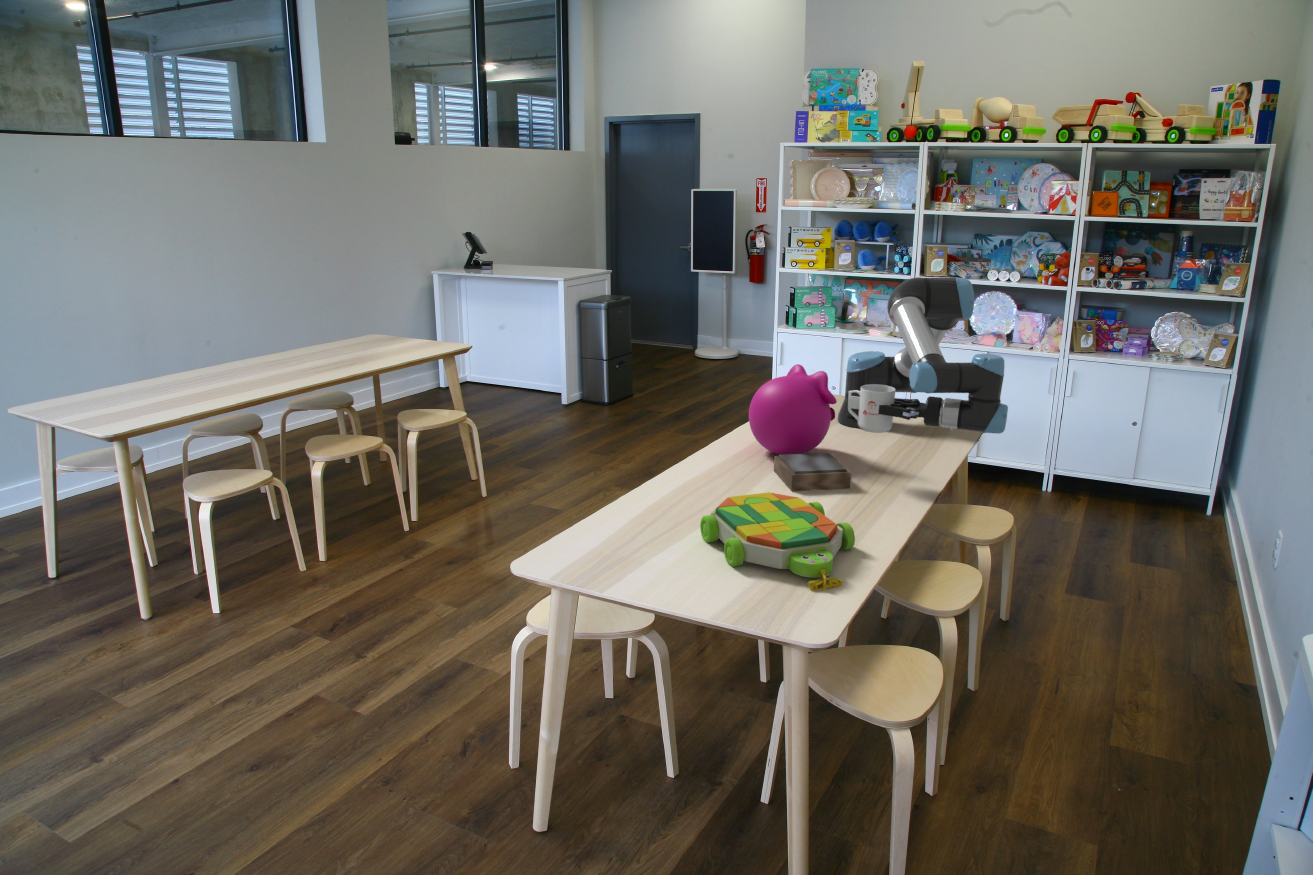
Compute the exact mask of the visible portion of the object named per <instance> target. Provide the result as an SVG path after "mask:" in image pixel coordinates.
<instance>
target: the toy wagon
mask: <svg viewBox="0 0 1313 875" xmlns="http://www.w3.org/2000/svg"><path fill="white" fill-rule="evenodd" d="M825 514H826V513H825V509H824V507H823V505H822V503H820V502H818V501H812V502H811V501H810V502H806V501H805V500H803V498H801V497H799V496H798V497H797V496H793V495H786V494H779V493H775V492H761V493H751V494H743V495H735V496H728V497H727V498H725V499H724V500H723V501H722V502H721V503H720V504H719V505H718V506H716V508H714V509H713V510H712V511H711V512H710V515H709V514H707V515H703V516H701V519H700V525H699V528H700V533H701V534H700V535H701V537H702V540H703V541H704V542H705V543H707V544H709V543H710V544H711V543H715V542H717V541H718V539H720V541H722V543H723V544H724V545H723V553H724V558H725V560H726V562H727V564H728V566H730V567H732V568H735V567H741V566H742V565H743V563H744V562H747V563H751V564H757V565H761V566H763V567H768V568H774V569H778V570H785V569H786V570H787V569H788V570H789V571H791V572H792V573H793V574H795V575H798V576H800V577H805V578H809V579H810V578H811V579H812V578H813V580H809V581H808V582H807V585H808V589H809V590H810V591H811V592H815V591H825V590H828V589H829V590H830V588H839V587H842V586H843V583H844V582H843V581H842V580H841V579H840V578H838V577H835V576H832V577H827V576H829V575H830V574H831V573H832V572H833V565H834V558H835V557H836V555H837V553H838V552H839V550H842V551H849V550H852V549H853V548H854V546H855V543H856V535H855V530H854V528H853V527H852V526H851V524H850V523H848V522H846V521H845V522H839V523H835V522H834V521H833V520H832V519H830V518H829V517H827V516H826V515H825ZM818 578H820V579H818ZM814 579H816V580H814Z"/></svg>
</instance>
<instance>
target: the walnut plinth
mask: <svg viewBox="0 0 1313 875" xmlns="http://www.w3.org/2000/svg"><path fill="white" fill-rule="evenodd" d="M773 472H774V473H775V475H777V477H778V478H779V479H780V480H781V481H782V482H783V484H784V485H785V486H786V487H787V488H788V489H789V490H790V492H801V491H805V492H806V491H818V490H820V491H821V490H823V491H824V490H839V489H840V490H842V489H843V490H845V489H846V490H847V489H851V481H852V472H851V471H850V470H849V469H848V468H847V467H846V466H844V465H843V463H841V462H840V461H839V460H838V459H837V458H836V457H835V456H833V455H832V454H831V453H829V452H818V453H817V452H816V453H815V452H812V453H804V454H786V455H780V454H778V455H774V459H773Z"/></svg>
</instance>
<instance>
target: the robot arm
mask: <svg viewBox="0 0 1313 875" xmlns="http://www.w3.org/2000/svg"><path fill="white" fill-rule="evenodd" d="M886 306H887V307H886V308H887V314H888V317H889V320H890V321H891V323H892V324H893V325H894V326H896V327H897V329H898V331H899V334H900V336H901V338H902V341H903V344H904V346H905V348H902V349H900V350H899V351H898V352H897V353H896V355H895V356H886V355H885V353H884V352H882V351H875V350H874V351H873V350H871V351H867V350H866V351H861V352H857V353H854V354H852V355H850V356H849V357H848V359H847V365H846V369H845V371H846V375H845V376H846V378H845V391H844V398H843V402H842V404H841V407H840V409H839V411H838V414H837V422H838V423H839V424H841V425H843V426H847V427H851V428H857V429H858V428H859V429H861V428H860V427H859V426H858V421H857V419H856V418H855V417H854V416H853V415H852V414H850V412H849V411H848V408H851V410H852V411H853V412H854V413H855V414H856V415H857V416H858V414H859V402H860V395H859V394H858V393H856V392H853V393H851V398H849V405H848V395H849V393H848V392H849V391H853V390H858V391H860V389H861V386H863V385H870V384H877V385H886V386H890V387H893V388H895V390H896V391H895V393H911V394H916V393H925V394H950V393H951V394H968V396H967V398H968V399H967V400H965V399H961V398H960V399H958V398H952V397H945V399H944V398H942V397H941V396H940V397H939V396H928V397H927V399H926V401H925V402H921V401H920V400H919V399H917V398H899V397H895V401H894V403H893V404H891V406H890V405H879V413H878V414H881V415H887V416H893V418H899V419H903V420H906V421H909V420H911V419H914V420H915V419H917V418H923V423H924V424H923V425H924V426H929V427H936V428H937V427H939V426H941V428H946V429H949V430H950V431H954V430H955V429H956V430H962V431H969V432H978V433H983V434H1003V433H1004V432H1005V430H1006V425H1007V422H1008V421H1007V419H1008V412H1009V406H1008V405H1007V404H1004V403H1001V395H1002V389H1003V383H1004V377H1005V359H1004V357H1002V356H1000V355H998V354H994V353H993V354H992V353H977V354H974V355H973V356H972V359H971V362H947V361H946V360H945V357H944V355H943V352H942V351H941V349H940V347H939V345H940V343H941V342H942V340H943V339H944V337H945V334H947V332H948V330H949V331H950V330H951V329H953V328H955V327H956V326H957V324H958V323H959V321H960V320H961V321H962V320H963V321H966V320H970V319H971V318H972V316H973V314H974V307H975V292H974V287H973V284H972V282H971V281H970V280H969V279H968V278H966V277H965V278H963V277H921V276H920V277H919V276H918V277H917V276H916V277H912V278H908V279H905V280H904V281H902V282H901V283H900V284H898V285H897V286H896V287H895V288H894V289H893V290H892V292H891V294H889V297H888V301H887V305H886Z"/></svg>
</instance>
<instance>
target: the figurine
mask: <svg viewBox="0 0 1313 875" xmlns="http://www.w3.org/2000/svg"><path fill="white" fill-rule="evenodd" d="M837 402H838V401H837V399H836V397H835V395H834V394H833V393H832V392H831V390H829V377H828V373H827V372H825V370H819V371H817V372H815V373H812V374H809V375H808V373H807V371H806V369H805V367H804V366H803V365H801V364H799V363H798V364H795V365H793V366H792V367H791V368H790V369H789V371H788V373H787V374H786V375H784V376H779V377H778V376H777V377H775V378H773V379H770V380H768V381H766V382H765V383H763V384H762V385H761V386H760V387H759V388H758V389H757V390H756V391H755V393H754V395H753V396H752V399H751V401H750V403H749V409H748V423H749V426H750V430H751V432H752V435H753V437H754V438H755V440H756V441H757V442H758V443H759V445H760V446H761V447H763V448H764V449H766V450H767V451H769V452H771V453H774V454H776V455H786V454H808V452H810V451H813V450H814V449H816V448H817V447H818V446H819V445H820V444H821V443H822V442H823V441H824V440H825V438H826V436H827V434H828V431H829V429H830V428H829V427H830V425H831V421H833V420H835V418H836V411H835V410H834V408H833V407H831V406H830V405H836V404H837Z"/></svg>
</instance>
